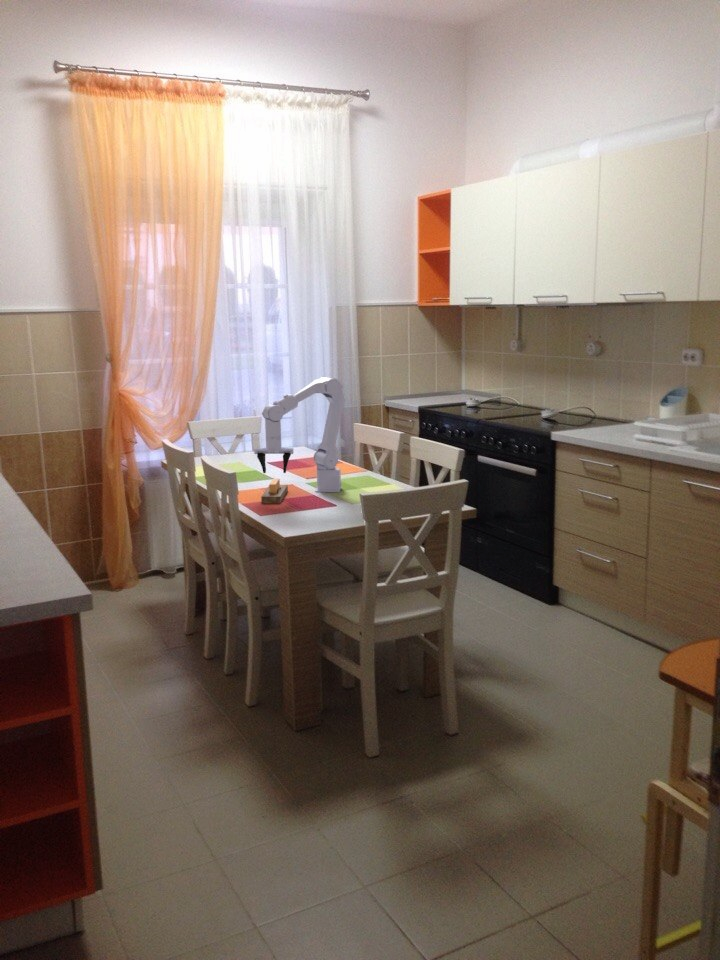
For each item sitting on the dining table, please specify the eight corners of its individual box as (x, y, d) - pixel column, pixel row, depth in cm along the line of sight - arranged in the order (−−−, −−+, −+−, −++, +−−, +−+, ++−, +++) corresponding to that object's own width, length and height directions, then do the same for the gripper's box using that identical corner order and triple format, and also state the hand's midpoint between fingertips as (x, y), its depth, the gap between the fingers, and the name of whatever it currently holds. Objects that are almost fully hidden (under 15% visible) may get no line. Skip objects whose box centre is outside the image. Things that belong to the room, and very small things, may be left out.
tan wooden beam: (280, 493, 319) (279, 478, 317) (276, 500, 309) (275, 484, 308) (273, 493, 319) (273, 478, 318) (269, 500, 309) (269, 484, 308)
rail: (287, 490, 324) (287, 484, 323) (280, 503, 304) (280, 496, 303) (269, 490, 324) (269, 484, 323) (261, 503, 304) (261, 496, 304)
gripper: (252, 438, 306) (253, 474, 309) (291, 438, 305) (292, 474, 308) (255, 435, 313) (256, 470, 315) (293, 435, 312) (294, 470, 315)
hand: (274, 472), depth 312 cm, fingers open, 7 cm apart
